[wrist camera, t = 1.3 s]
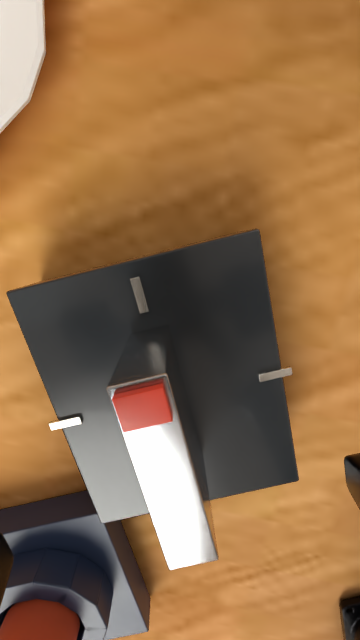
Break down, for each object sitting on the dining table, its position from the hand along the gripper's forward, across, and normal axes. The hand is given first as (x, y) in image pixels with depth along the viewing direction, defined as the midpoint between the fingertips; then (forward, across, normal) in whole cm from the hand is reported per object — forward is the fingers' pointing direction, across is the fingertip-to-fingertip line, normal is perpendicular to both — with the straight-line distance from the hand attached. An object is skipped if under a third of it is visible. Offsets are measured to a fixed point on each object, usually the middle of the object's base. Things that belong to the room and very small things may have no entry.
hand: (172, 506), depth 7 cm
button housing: (+8, +10, +11) cm, 17 cm away
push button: (+5, +10, +11) cm, 16 cm away
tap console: (+8, 0, 0) cm, 8 cm away
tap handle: (+5, 0, 0) cm, 5 cm away
